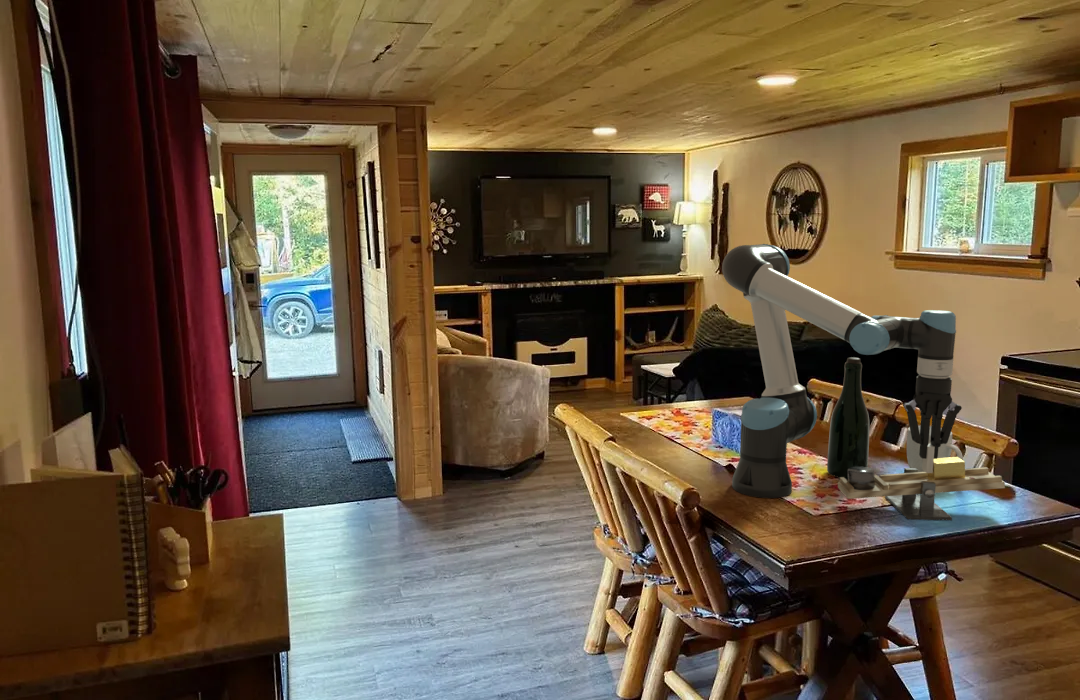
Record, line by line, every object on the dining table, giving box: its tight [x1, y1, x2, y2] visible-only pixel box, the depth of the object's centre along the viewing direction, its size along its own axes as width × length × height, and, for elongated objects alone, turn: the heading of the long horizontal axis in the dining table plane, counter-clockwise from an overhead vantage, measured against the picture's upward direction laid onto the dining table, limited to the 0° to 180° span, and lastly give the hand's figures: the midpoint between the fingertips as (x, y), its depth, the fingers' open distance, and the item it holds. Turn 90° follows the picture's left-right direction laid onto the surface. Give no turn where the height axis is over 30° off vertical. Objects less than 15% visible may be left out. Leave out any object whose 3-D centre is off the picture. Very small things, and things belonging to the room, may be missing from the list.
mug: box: [906, 425, 964, 472], centre depth 211 cm, size 15×11×13 cm
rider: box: [928, 456, 966, 480], centre depth 187 cm, size 7×4×5 cm, turn 85°
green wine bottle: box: [826, 356, 870, 480], centre depth 213 cm, size 10×10×33 cm
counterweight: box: [847, 467, 875, 490], centre depth 189 cm, size 6×6×4 cm
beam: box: [837, 466, 1006, 500], centre depth 188 cm, size 36×8×3 cm, turn 85°
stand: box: [884, 467, 953, 522], centre depth 189 cm, size 10×15×8 cm, turn 175°
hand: (927, 471), depth 188 cm, fingers closed
